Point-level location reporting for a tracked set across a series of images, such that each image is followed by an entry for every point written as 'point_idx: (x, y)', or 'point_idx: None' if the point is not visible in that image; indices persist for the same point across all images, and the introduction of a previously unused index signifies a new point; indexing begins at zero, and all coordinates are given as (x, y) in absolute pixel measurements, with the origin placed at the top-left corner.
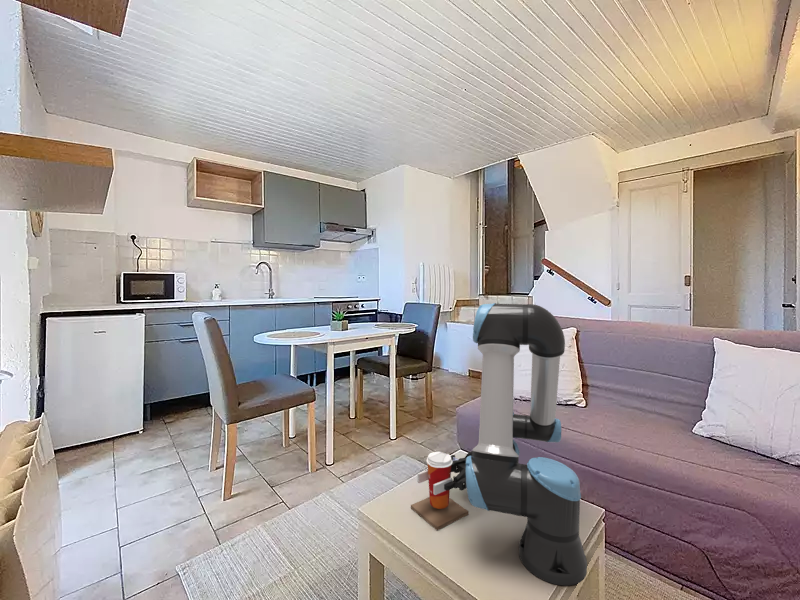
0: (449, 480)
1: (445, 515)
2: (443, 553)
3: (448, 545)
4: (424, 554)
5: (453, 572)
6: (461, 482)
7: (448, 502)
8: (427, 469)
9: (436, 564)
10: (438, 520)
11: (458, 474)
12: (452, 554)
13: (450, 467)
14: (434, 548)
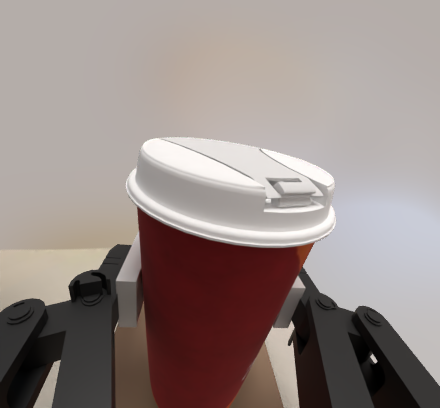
0: (124, 265)
1: (139, 367)
2: (65, 273)
3: (63, 297)
4: (106, 250)
5: (17, 257)
6: (15, 303)
7: (151, 387)
8: (301, 269)
9: (67, 249)
10: (142, 324)
11: (104, 382)
12: (38, 285)
13: (139, 220)
14: (95, 269)
